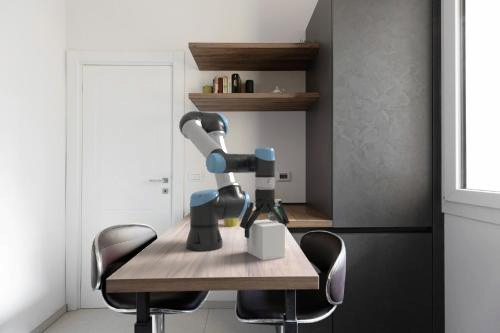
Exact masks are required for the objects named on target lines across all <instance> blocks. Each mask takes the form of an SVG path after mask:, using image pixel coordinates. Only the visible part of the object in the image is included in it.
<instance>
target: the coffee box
mask: <svg viewBox="0 0 500 333" xmlns="http://www.w3.org/2000/svg"><path fill="white" fill-rule="evenodd" d="M274 200H275V201H277V200H280V201H282V199H281V198H275V199H274ZM274 209H275V210H276V212H277V213H278V215H279V216H280V217H281V215H280V213H279V211H278V208H277V206H276V205H275V206H274ZM267 216H268V220H271V221H277V220H276V219H275V217H274V216H273V215H272V214H271V213H267ZM281 218H282V217H281Z"/></svg>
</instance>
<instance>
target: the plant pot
mask: <svg viewBox="0 0 500 333" xmlns="http://www.w3.org/2000/svg"><path fill="white" fill-rule="evenodd" d="M238 220H239V218H232V219H223V222H224V226H225V227H226V226H227V228H228V227H229V228H232V227H233V228H234V227H237V226H238V222H239V221H238Z"/></svg>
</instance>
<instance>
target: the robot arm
mask: <svg viewBox="0 0 500 333" xmlns="http://www.w3.org/2000/svg"><path fill="white" fill-rule="evenodd" d="M178 125H179V126H178V127H179V131H180V133H181V135H182V136H183V137H184V138H186V139H188V140H189V141H190V142H191V143H192V144H193V145H194V147H195V148H196V149H197V150H198V151H199V152H200V153H201V155H202V156H203V157H204V158H205V167H206V170H207V172H209V173H211V174H213V175H214V177H215V178H214V179H215V182H216V186H217V189H204V190H198V191H195V192H193V193H192V194H191V195H190V199H189V200H190V201H189V216H190V217H189V220H190V221H189V222H190V223H189V225H190V226H189V227H190V228H189V232H188V234H187V238H186V242H185V248H186V249H187V250H190V251H198V252H205V251H209V252H210V251H213V250H219V249H221V248H223V241H224V240H223V237H222V236H221V232H220V229H219V221H220V220H224V219H232V218H238V219H239V218H241V221H240V224H239V227H240V228H242V229H244V238H246V247H247V246H248V247H252V229H249V228H250V227H251V226H252V224H253V223H254V221H255V220H258V219H257V218H258V217H259V216H260V215H262V214H266V213H267V214H268V213H271V214H272V215H273V216H274V217H275V219H276V220H275V221H276V222H278V223H281V224H284V225H285V227H286V226H287V225H288V224H290V220H289V218H288V216H287V213H286V211H285V209H284V207H283V201H282V200H281V201H280V200H277V201H275V200H274V199H276V190H275V189H274V188H275V186H276V185H275V184H276V183H275V182H276V181H275V180H276V179H275V178H276V176H275V175H276V174H275V173H276V172H275V170H276V169H275V168H276V164H275V163H276V157H275V149H274V148H272V147H257V148H255V150H254V153H228V149H227V145H226V141H225V139H226V137H227V134H228V132H229V122H228V120H227V118H226V116H225V115H223V114H222V113H217V112H206V111H199V110H196V111H195V110H192V111H188V112H186V113H185V114H183V115H182V116H181V119H180V120H179V124H178ZM243 173H244V174H246V173H247V174H250V173H253V174H254V187H255V190H254V198H255V199H254V200H255V201H254V202H253V201H251V197H250V195H249V193H248V192H247V191H244V190H243V189H242V186H241V185H240V184H239V183H237V181H236V177H235V174H243ZM275 205H276V206H277V208H278V211H279V213H280V215H281V217H280V216H279V215H278V213H277V212H276V210H275V209H274V206H275ZM254 208H255V209H254Z"/></svg>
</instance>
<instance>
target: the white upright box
mask: <svg viewBox="0 0 500 333" xmlns="http://www.w3.org/2000/svg"><path fill="white" fill-rule="evenodd" d="M249 229H252V247H248V246H247V245H246V253H249V254H250V255H252V256H254V257H255V258H258V259H260V260H261V261H267V260H274V259H280V258H281V259H282V258H286V252H285V251H286V245H285V244H286V241H285V240H286V235H285V234H286V226H285V225H284V224H281V223H279V222H278V221H275V220H268V219H267V218H266V219H259V220H258V219H256V220H255V221H254V223H253V224H252V226H251V227H250V228H249Z"/></svg>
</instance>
